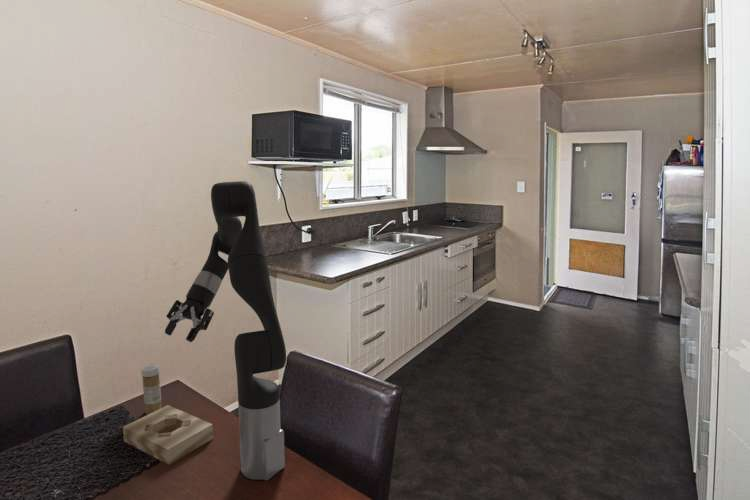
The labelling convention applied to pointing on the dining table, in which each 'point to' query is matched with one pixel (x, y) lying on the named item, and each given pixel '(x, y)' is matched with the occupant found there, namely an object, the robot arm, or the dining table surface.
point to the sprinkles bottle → (151, 388)
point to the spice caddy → (168, 434)
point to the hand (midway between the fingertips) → (177, 337)
